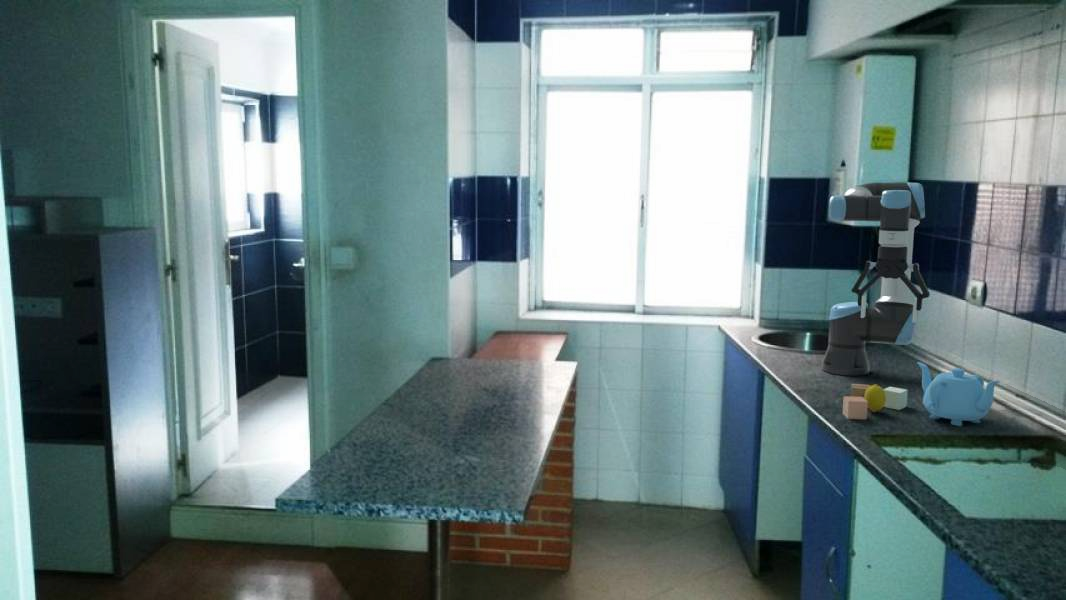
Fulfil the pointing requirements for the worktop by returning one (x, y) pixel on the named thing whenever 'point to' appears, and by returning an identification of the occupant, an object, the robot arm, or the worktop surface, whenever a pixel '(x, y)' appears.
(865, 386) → the walnut cube
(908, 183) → the robot arm
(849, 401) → the terracotta cube
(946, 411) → the teapot
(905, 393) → the sage cube
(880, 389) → the lemon
